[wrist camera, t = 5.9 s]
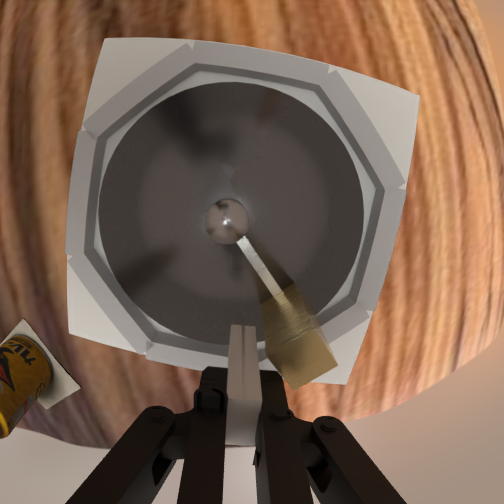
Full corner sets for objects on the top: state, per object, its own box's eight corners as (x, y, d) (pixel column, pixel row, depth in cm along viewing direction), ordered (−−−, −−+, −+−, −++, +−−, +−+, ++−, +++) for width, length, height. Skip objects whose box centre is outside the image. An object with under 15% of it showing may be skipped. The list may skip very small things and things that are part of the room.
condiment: (24, 317, 23) (-57, 383, 12) (81, 386, 25) (24, 474, 13) (-3, 347, 24) (-69, 407, 13) (47, 407, 26) (-3, 480, 14)
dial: (66, 188, 18) (-4, 198, 11) (266, 43, 17) (276, -17, 10) (200, 372, 22) (185, 443, 15) (396, 253, 20) (456, 289, 13)
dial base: (115, 47, 18) (96, 30, 15) (407, 101, 20) (430, 91, 16) (79, 322, 23) (60, 342, 20) (339, 370, 25) (350, 395, 21)
